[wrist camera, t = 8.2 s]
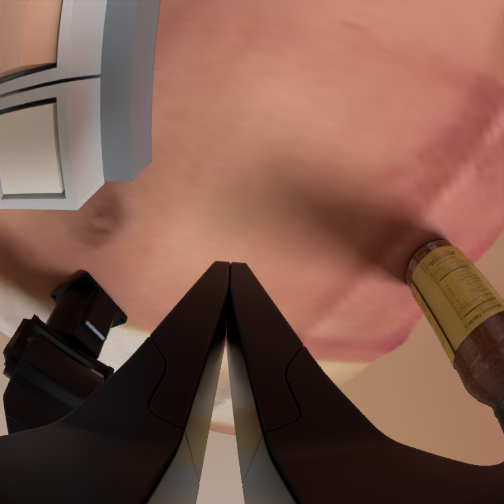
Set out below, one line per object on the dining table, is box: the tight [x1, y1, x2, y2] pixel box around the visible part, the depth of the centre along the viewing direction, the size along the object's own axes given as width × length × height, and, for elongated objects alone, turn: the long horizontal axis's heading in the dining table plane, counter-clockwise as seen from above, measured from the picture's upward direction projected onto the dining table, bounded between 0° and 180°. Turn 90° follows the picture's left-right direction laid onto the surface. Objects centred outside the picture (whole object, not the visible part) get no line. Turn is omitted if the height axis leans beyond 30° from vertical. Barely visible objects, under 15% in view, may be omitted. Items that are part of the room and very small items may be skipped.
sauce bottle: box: [406, 240, 504, 432], centre depth 16 cm, size 7×6×20 cm
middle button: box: [0, 0, 63, 80], centre depth 7 cm, size 4×4×3 cm
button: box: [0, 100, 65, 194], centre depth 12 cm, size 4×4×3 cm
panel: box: [0, 0, 160, 210], centre depth 10 cm, size 19×10×8 cm, turn 174°
